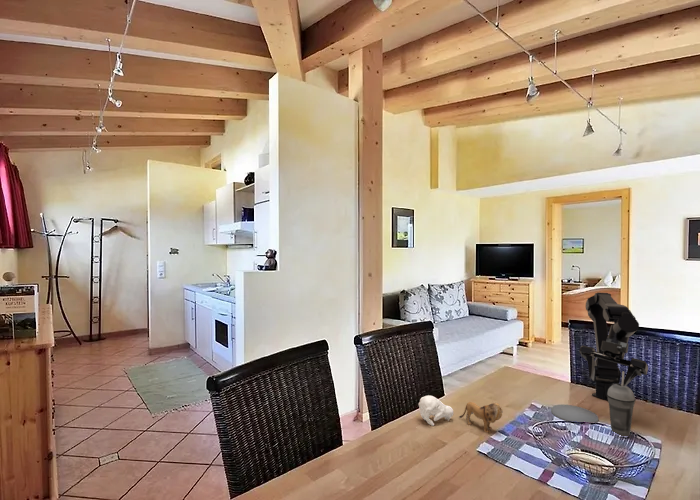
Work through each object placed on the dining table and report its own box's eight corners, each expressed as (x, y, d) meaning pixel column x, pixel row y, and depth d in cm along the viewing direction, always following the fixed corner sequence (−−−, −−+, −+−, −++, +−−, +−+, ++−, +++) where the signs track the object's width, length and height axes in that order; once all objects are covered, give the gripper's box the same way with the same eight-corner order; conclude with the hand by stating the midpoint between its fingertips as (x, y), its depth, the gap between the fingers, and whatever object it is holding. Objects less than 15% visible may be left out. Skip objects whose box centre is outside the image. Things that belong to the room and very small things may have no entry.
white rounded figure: (417, 392, 127) (448, 392, 131) (415, 418, 127) (446, 417, 131) (426, 400, 121) (459, 399, 125) (424, 427, 121) (456, 425, 125)
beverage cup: (625, 429, 121) (626, 367, 121) (640, 441, 114) (641, 374, 114) (601, 428, 122) (602, 366, 122) (615, 439, 114) (615, 373, 114)
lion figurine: (505, 431, 119) (505, 402, 119) (497, 437, 115) (498, 407, 115) (462, 416, 130) (462, 390, 130) (454, 421, 126) (454, 394, 126)
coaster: (566, 404, 141) (566, 401, 141) (606, 418, 128) (606, 416, 128) (542, 411, 134) (542, 409, 134) (583, 428, 122) (583, 425, 122)
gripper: (582, 323, 132) (569, 365, 127) (649, 338, 119) (637, 385, 114) (588, 336, 139) (576, 376, 134) (652, 352, 125) (641, 396, 121)
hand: (605, 383), depth 125 cm, fingers open, 9 cm apart
